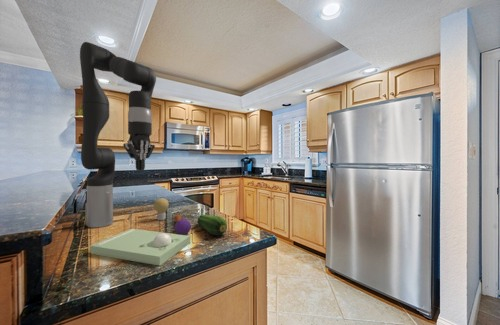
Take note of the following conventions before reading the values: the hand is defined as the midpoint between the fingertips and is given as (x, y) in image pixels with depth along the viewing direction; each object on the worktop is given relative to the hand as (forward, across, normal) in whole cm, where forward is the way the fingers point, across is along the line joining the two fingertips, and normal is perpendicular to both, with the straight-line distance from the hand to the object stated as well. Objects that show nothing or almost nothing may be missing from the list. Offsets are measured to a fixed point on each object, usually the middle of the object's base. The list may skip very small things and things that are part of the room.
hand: (140, 170), depth 78 cm
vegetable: (+25, -16, +20) cm, 36 cm away
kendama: (+26, -14, +7) cm, 30 cm away
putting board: (+25, +6, +6) cm, 27 cm away
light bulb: (+25, -22, -8) cm, 34 cm away
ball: (+22, +6, +14) cm, 27 cm away
